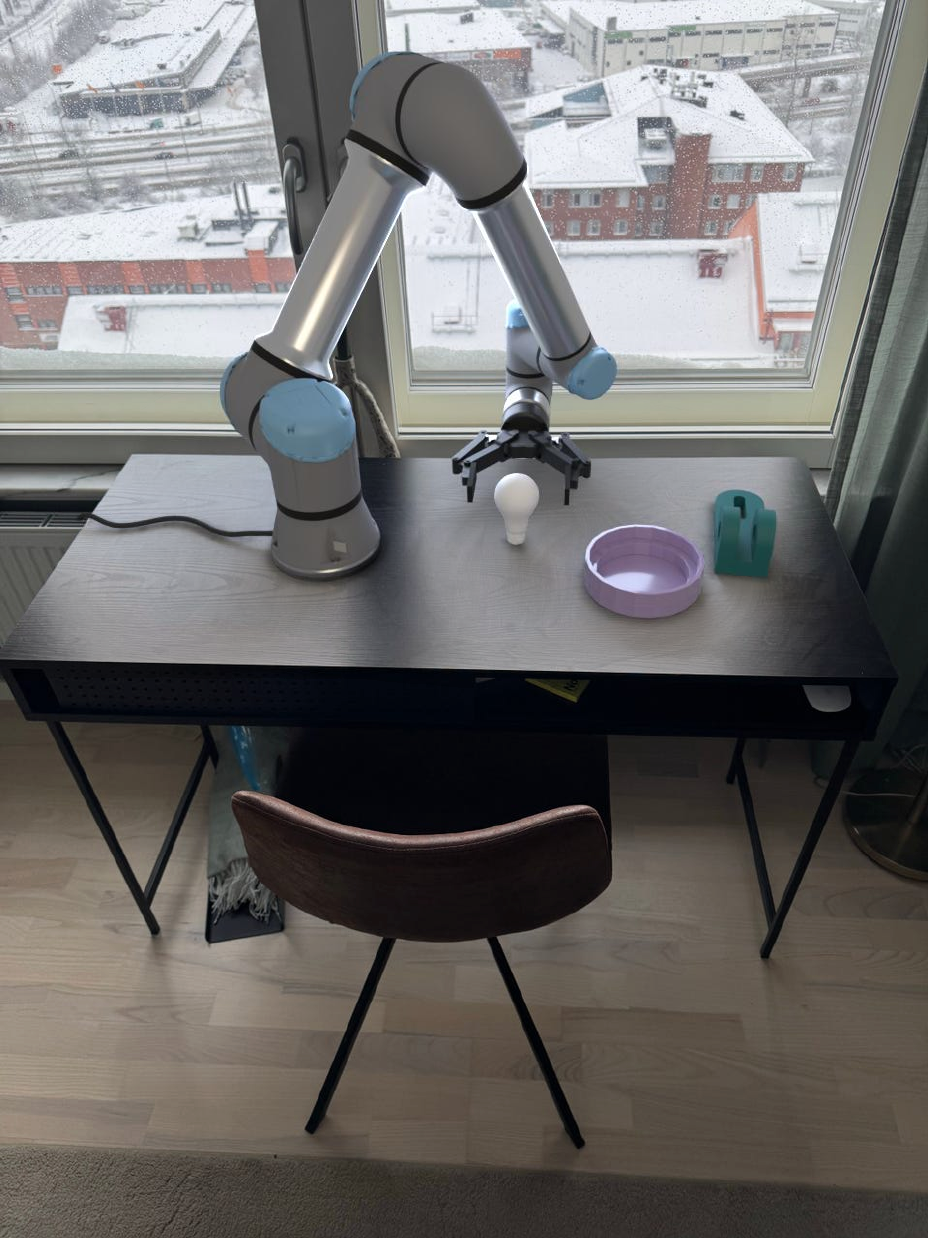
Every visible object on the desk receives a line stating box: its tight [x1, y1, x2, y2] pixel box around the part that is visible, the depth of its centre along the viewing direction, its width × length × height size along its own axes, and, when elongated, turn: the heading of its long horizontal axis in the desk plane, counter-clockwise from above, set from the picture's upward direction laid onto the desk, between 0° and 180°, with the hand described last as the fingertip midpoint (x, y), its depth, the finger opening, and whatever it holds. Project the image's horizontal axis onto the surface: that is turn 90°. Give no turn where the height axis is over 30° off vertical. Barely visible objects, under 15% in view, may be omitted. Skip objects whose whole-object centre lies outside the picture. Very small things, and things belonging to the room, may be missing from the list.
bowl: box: [583, 524, 706, 619], centre depth 122 cm, size 15×15×4 cm
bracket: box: [713, 489, 777, 579], centre depth 129 cm, size 18×7×8 cm, turn 169°
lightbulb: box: [493, 472, 540, 546], centre depth 128 cm, size 6×6×11 cm
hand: (518, 496), depth 130 cm, fingers open, 13 cm apart
